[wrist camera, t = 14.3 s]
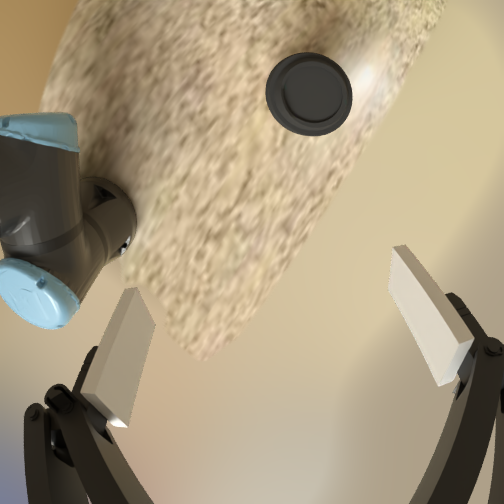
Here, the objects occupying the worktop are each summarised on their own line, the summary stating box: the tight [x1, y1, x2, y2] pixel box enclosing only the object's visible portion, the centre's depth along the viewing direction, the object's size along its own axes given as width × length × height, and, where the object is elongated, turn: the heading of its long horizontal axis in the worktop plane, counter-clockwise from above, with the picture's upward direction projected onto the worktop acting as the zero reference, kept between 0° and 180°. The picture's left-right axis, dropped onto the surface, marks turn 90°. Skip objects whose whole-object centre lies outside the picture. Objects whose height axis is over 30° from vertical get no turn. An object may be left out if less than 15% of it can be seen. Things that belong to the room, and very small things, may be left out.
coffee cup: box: [266, 52, 352, 136], centre depth 31 cm, size 9×9×15 cm
